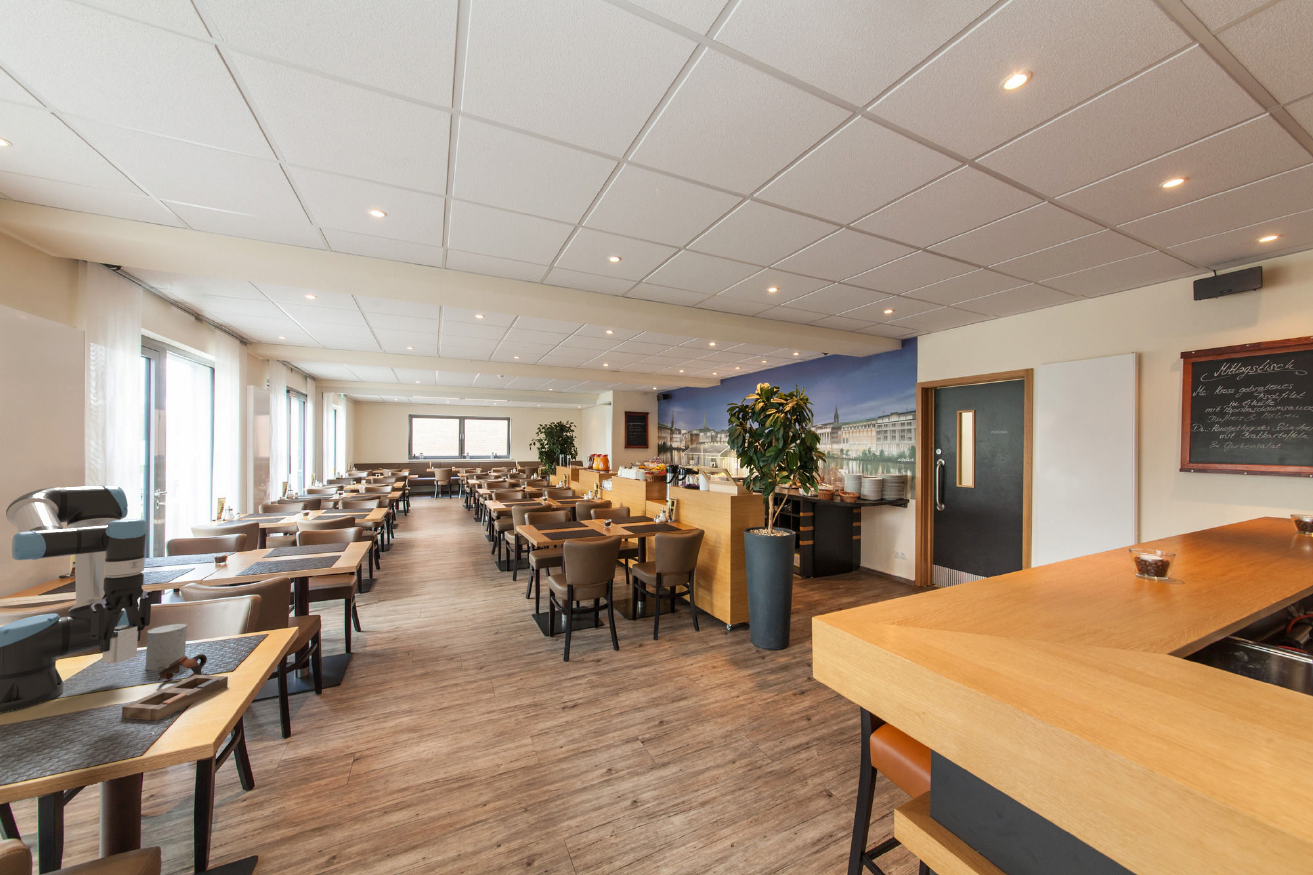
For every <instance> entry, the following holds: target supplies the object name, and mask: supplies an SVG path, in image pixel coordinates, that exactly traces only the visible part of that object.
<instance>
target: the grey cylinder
mask: <svg viewBox="0 0 1313 875" xmlns="http://www.w3.org/2000/svg"><path fill="white" fill-rule="evenodd" d="M187 628H188V624H187V623H185V622H184V623H182V622H177V623H176V622H175V623H168V624H162V625H160V626H159V625H158V626H155V627H152V628H150V629H148V630H147V631H146V635H147V639H146V652H145V653H146V654H145V657H146V658H145V666H144V667H145V668H144V669H145V670H147V671H158V670H159V671H161V670H162V669H164V668H168V667H169V665H170V664H172V663H173V662H175V661H177V660H178V659H180V658H182V657H184V656H186V646H187V645H186V644H187V642H186V640H187Z"/></svg>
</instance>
